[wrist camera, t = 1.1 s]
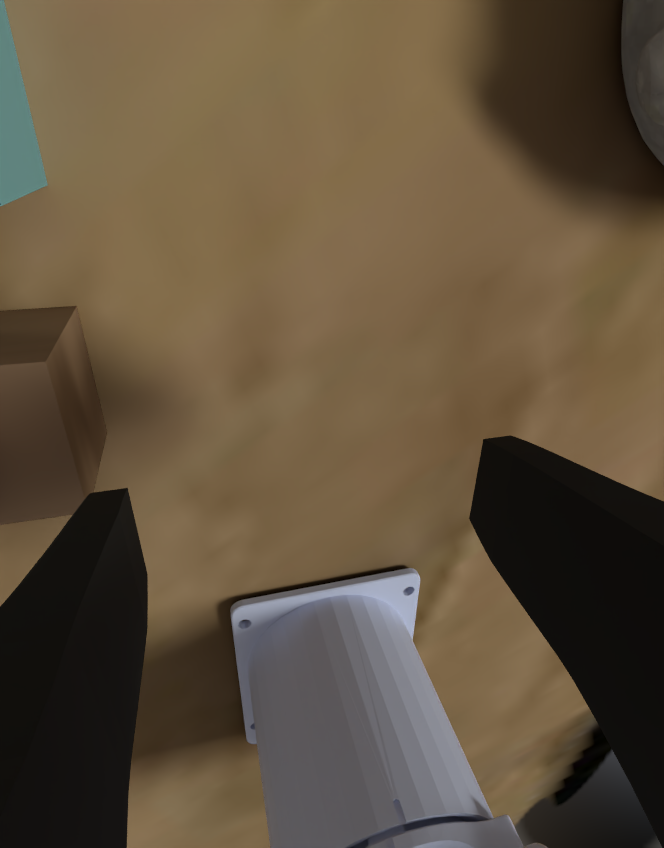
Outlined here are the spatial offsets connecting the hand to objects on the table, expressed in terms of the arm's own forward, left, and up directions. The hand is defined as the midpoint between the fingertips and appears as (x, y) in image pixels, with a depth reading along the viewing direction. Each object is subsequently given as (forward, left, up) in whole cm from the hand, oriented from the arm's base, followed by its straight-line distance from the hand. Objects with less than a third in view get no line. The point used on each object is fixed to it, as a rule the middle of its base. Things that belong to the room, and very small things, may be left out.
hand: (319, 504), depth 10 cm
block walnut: (0, +7, -8) cm, 10 cm away
